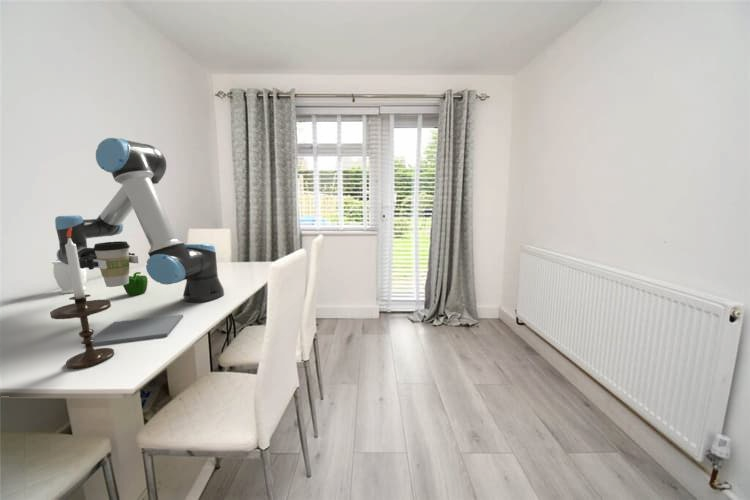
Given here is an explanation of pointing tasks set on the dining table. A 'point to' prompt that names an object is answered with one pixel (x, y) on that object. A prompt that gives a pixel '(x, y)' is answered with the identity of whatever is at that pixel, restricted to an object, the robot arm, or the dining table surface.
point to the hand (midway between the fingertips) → (121, 262)
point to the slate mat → (137, 330)
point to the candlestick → (82, 314)
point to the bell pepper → (136, 284)
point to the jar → (66, 276)
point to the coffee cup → (114, 262)
